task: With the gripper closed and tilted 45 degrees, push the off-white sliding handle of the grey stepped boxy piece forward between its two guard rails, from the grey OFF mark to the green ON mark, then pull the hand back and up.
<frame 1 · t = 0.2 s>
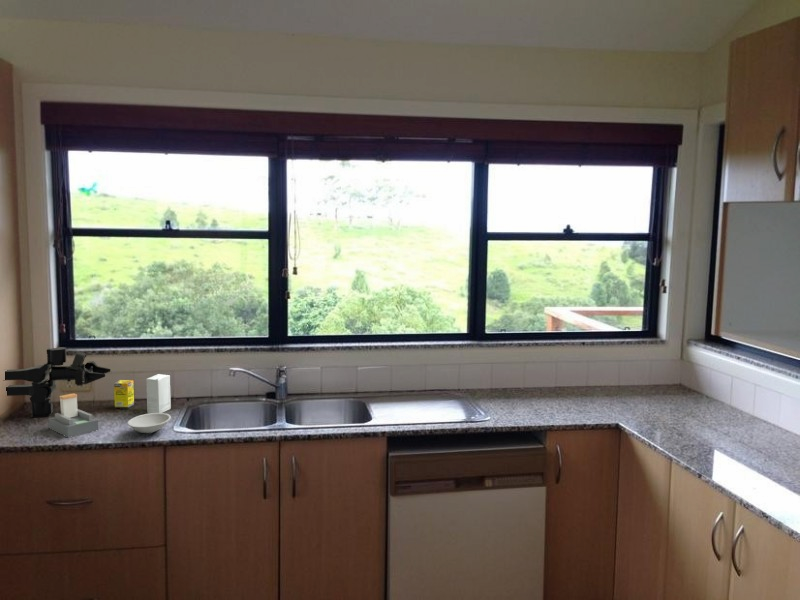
hand: (107, 372, 261), 16 cm above the worktop, tool horizontal, fingers open, 9 cm apart
dish: (150, 433, 238), on the worktop
skincare box: (159, 411, 265), on the worktop
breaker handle: (69, 406, 241), point 8 cm above the worktop, slide at 0.0 cm
grey stepped boxy piece: (73, 429, 240), on the worktop
supplement box: (124, 407, 271), on the worktop
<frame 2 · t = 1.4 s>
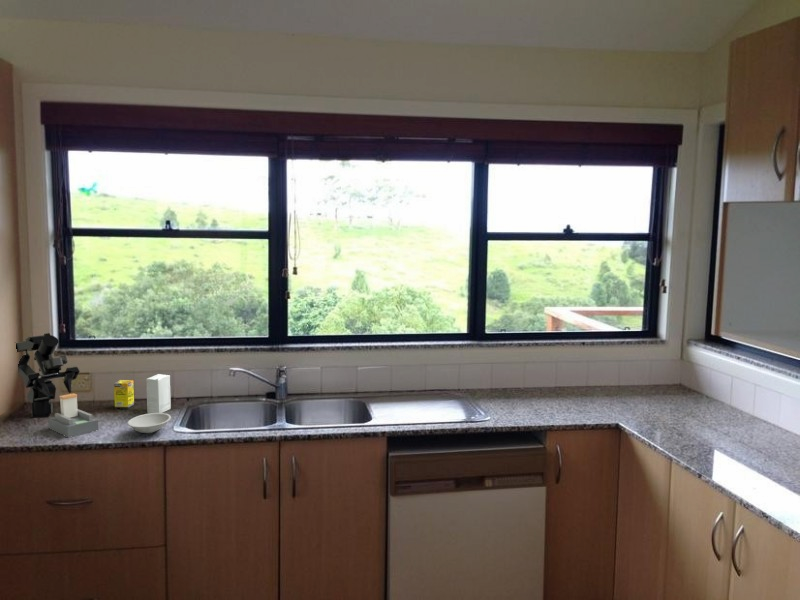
hand: (60, 394, 246), 12 cm above the worktop, tool tilted 45°, fingers open, 7 cm apart
nothing on the worktop moved.
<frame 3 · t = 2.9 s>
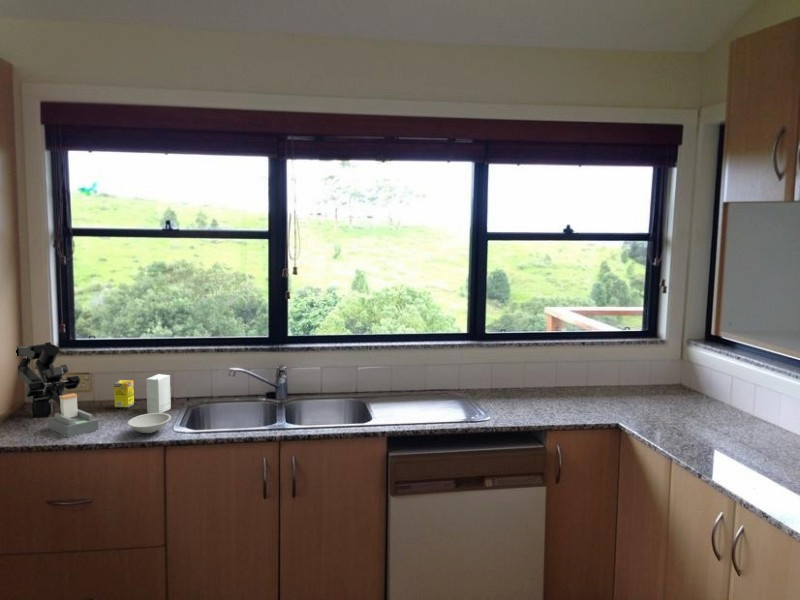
hand: (60, 403, 246), 8 cm above the worktop, tool tilted 45°, fingers closed
nothing on the worktop moved.
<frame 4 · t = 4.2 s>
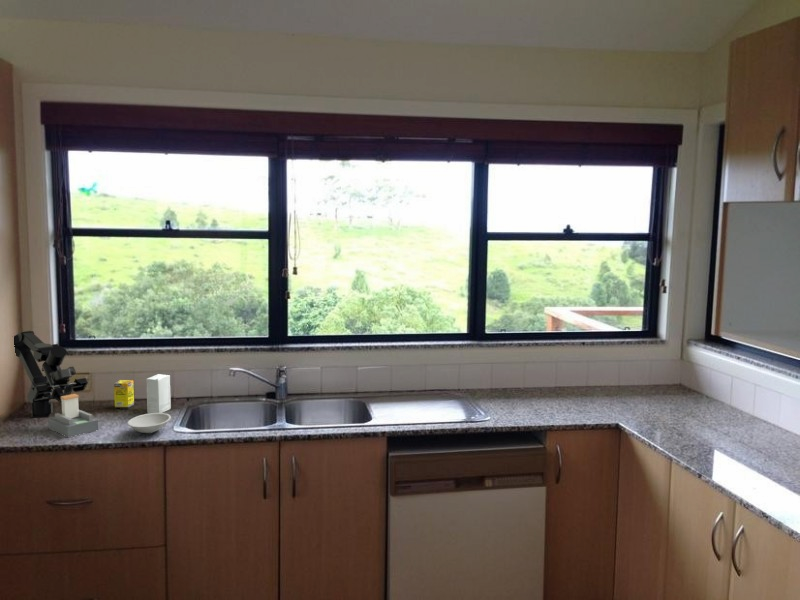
hand: (68, 406, 242), 8 cm above the worktop, tool tilted 45°, fingers closed, pressing on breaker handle
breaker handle: (70, 406, 241), point 8 cm above the worktop, slide at 1.0 cm, touching gripper
everything else where it was.
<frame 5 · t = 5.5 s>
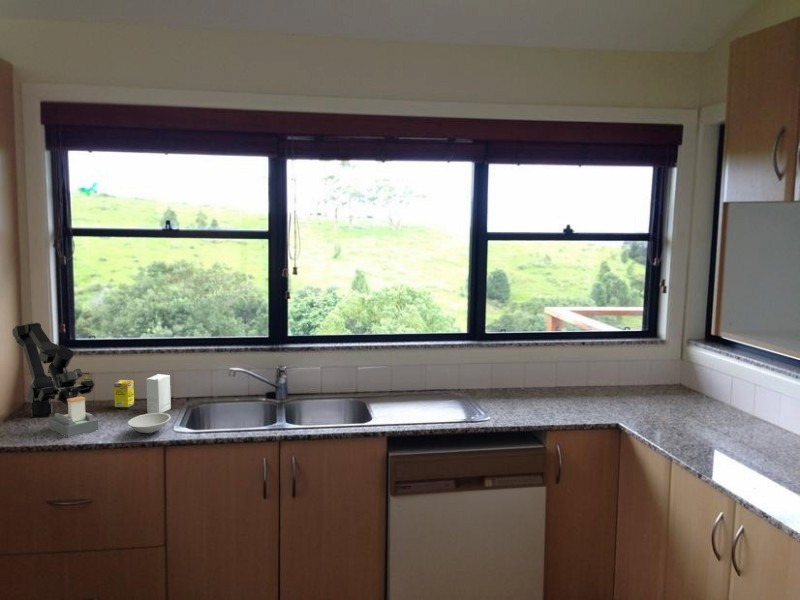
hand: (75, 408, 238), 8 cm above the worktop, tool tilted 45°, fingers closed, pressing on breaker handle
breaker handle: (76, 409, 237), point 8 cm above the worktop, slide at 6.4 cm, touching gripper
everything else where it was.
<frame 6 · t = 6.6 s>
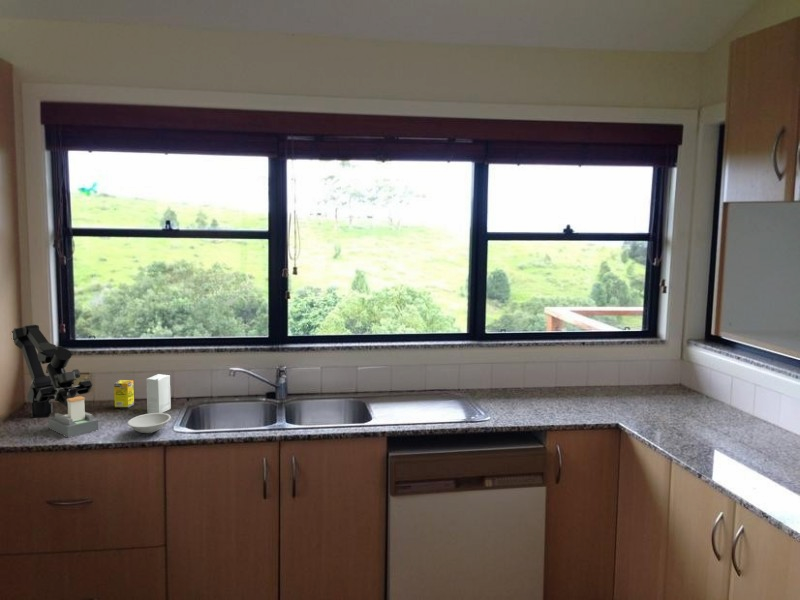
hand: (72, 409, 239), 8 cm above the worktop, tool tilted 45°, fingers closed
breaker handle: (76, 409, 237), point 8 cm above the worktop, slide at 6.0 cm
everything else where it was.
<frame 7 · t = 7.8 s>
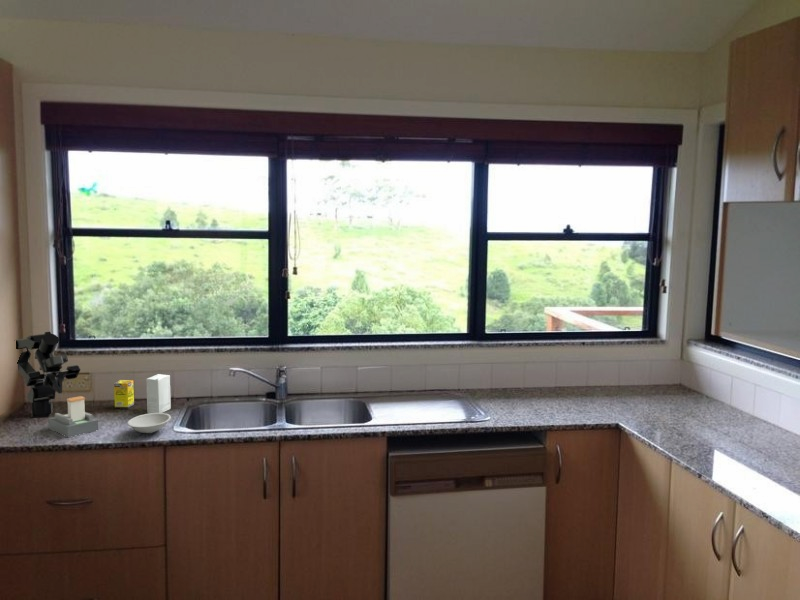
hand: (60, 392, 245), 12 cm above the worktop, tool tilted 45°, fingers closed
nothing on the worktop moved.
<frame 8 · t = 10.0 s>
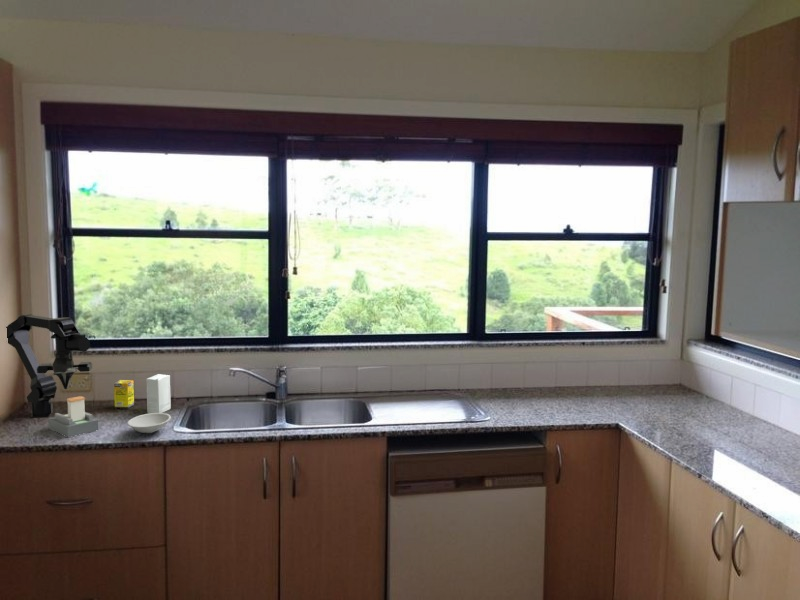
hand: (66, 388, 252), 12 cm above the worktop, tool pointing down, fingers closed
nothing on the worktop moved.
at the end: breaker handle slide at 6.0 cm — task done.
